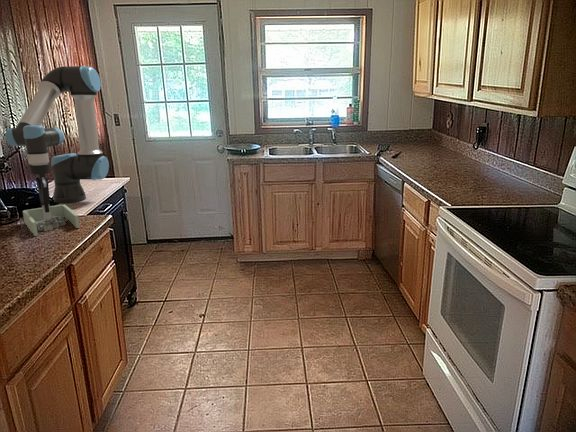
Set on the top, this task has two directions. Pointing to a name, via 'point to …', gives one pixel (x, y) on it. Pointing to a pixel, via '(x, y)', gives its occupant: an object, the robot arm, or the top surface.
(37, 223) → the egg carton
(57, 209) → the u-shaped frame
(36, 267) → the top surface
